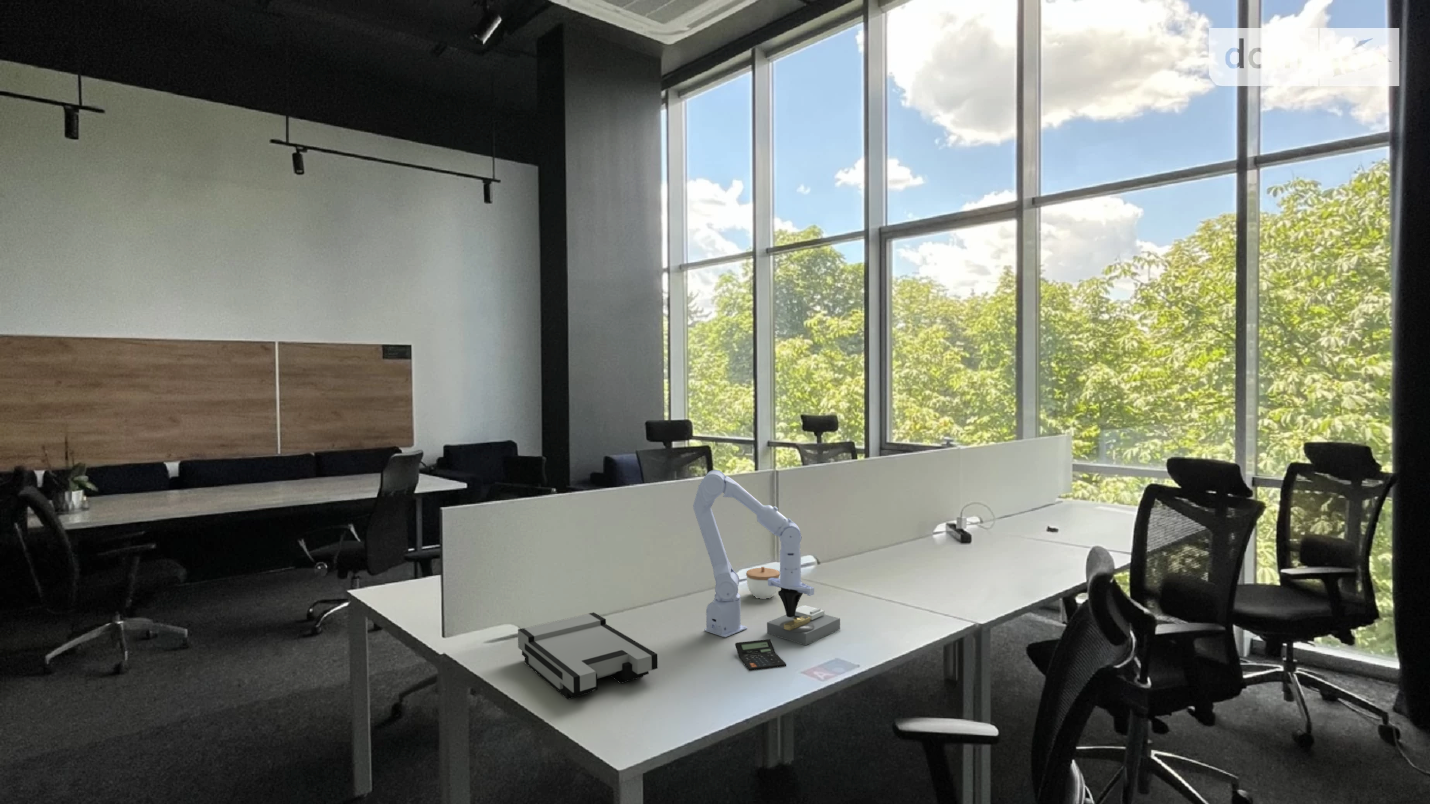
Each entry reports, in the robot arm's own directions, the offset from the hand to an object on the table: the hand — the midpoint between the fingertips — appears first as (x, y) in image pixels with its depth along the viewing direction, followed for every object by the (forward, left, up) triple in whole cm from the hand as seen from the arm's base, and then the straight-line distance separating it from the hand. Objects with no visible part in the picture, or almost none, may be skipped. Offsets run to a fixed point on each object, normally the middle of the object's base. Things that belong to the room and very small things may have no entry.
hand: (790, 616), depth 192 cm
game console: (-55, +20, -5) cm, 58 cm away
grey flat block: (+2, -3, -4) cm, 5 cm away
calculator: (-21, -6, -5) cm, 22 cm away
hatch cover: (+6, -2, -1) cm, 6 cm away
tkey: (-3, -4, -1) cm, 5 cm away
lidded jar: (+19, +26, -4) cm, 32 cm away
